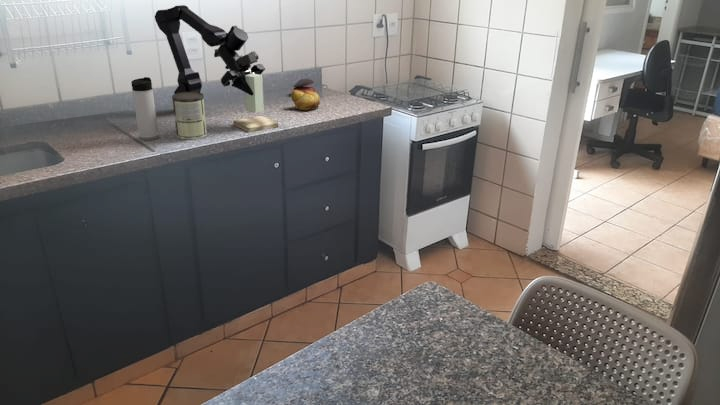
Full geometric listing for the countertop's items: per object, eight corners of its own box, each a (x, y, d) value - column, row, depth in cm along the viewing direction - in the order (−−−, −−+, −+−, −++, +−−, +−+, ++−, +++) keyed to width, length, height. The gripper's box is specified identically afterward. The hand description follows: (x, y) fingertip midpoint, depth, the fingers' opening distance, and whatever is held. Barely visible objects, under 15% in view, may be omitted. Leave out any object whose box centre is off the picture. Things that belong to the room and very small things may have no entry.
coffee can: (171, 134, 189) (166, 94, 184) (197, 129, 196) (194, 90, 190) (185, 141, 183) (181, 100, 177) (212, 135, 189) (209, 95, 184)
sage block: (246, 111, 199) (244, 75, 194) (254, 108, 203) (252, 73, 197) (255, 113, 197) (254, 77, 192) (263, 110, 201) (262, 75, 195)
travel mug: (163, 136, 187) (156, 78, 179) (150, 141, 181) (142, 81, 173) (148, 134, 189) (140, 76, 181) (135, 139, 183) (126, 79, 175)
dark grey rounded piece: (296, 106, 248) (285, 87, 244) (301, 99, 256) (291, 80, 253) (317, 97, 244) (306, 77, 240) (322, 90, 252) (311, 70, 249)
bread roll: (313, 103, 235) (313, 85, 232) (327, 108, 229) (327, 89, 225) (289, 108, 227) (288, 89, 224) (303, 113, 220) (303, 93, 217)
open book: (249, 132, 194) (249, 128, 194) (233, 124, 203) (233, 120, 202) (278, 126, 201) (278, 123, 201) (261, 119, 210) (261, 115, 209)
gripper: (224, 47, 184) (251, 84, 184) (260, 41, 199) (285, 75, 199) (209, 68, 191) (235, 103, 191) (244, 61, 206) (268, 94, 206)
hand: (257, 93), depth 196 cm, fingers closed on sage block, 4 cm apart
